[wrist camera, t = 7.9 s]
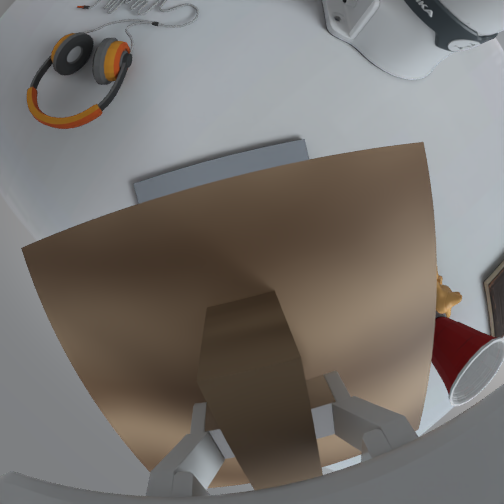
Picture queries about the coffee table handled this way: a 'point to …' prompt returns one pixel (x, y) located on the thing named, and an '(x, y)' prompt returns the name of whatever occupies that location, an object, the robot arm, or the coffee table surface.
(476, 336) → the plastic cup
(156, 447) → the lid
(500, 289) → the hardcover book
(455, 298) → the figurine
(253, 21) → the coffee table surface
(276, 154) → the mat
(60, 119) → the headphones
